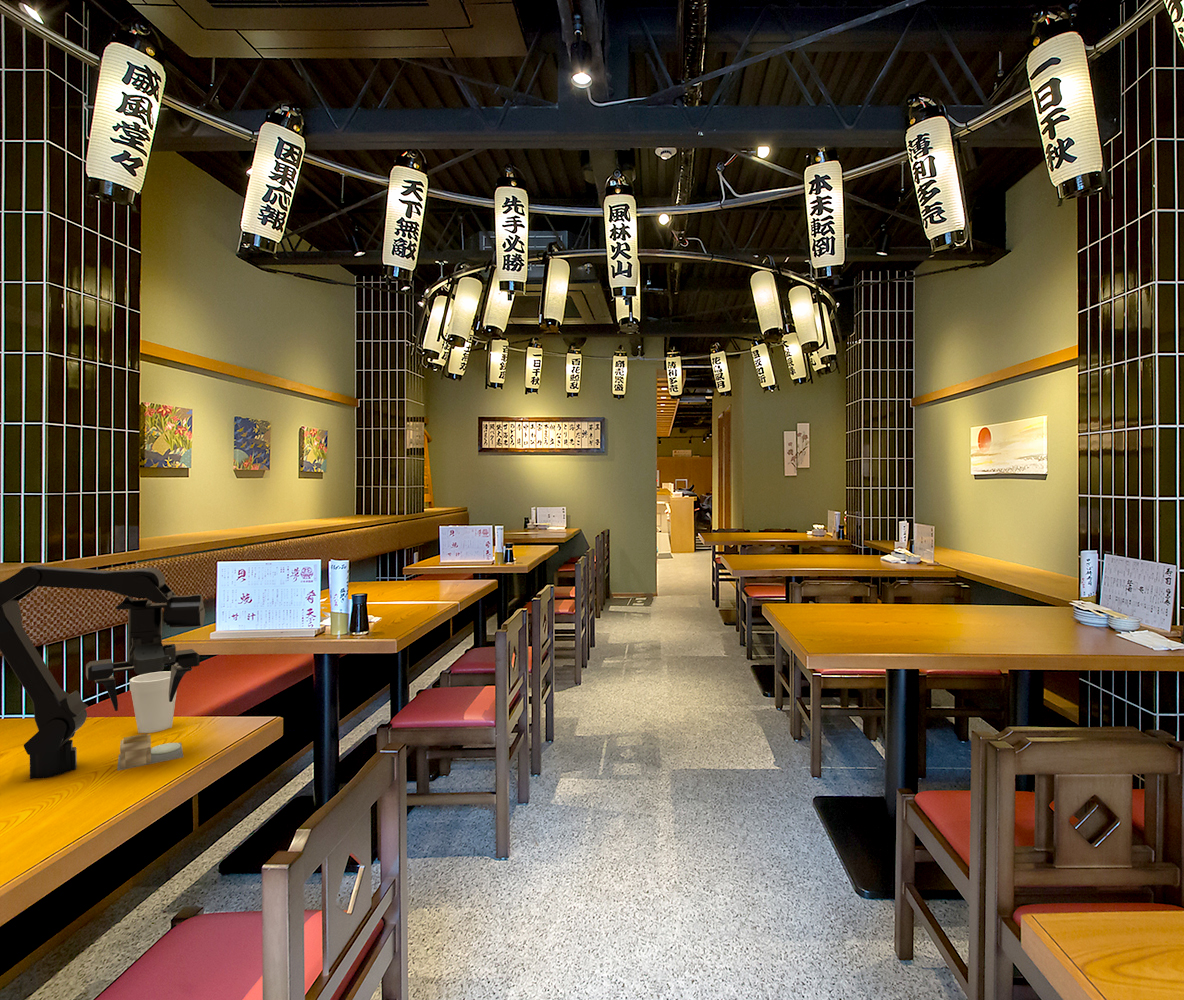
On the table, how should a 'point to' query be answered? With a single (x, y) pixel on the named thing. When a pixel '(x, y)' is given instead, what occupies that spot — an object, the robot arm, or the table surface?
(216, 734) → the table surface
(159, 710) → the foam cup
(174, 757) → the lock board
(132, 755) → the hinoki cap
